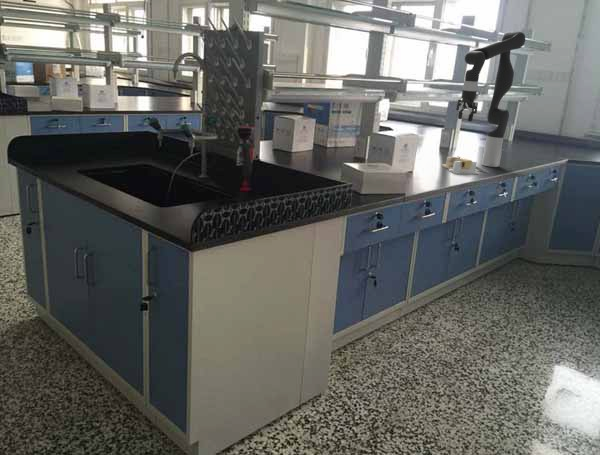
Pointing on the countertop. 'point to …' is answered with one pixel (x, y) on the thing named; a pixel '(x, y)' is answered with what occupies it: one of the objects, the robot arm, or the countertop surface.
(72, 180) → the countertop surface
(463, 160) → the u clip
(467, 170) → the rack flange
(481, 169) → the caliper
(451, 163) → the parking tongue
